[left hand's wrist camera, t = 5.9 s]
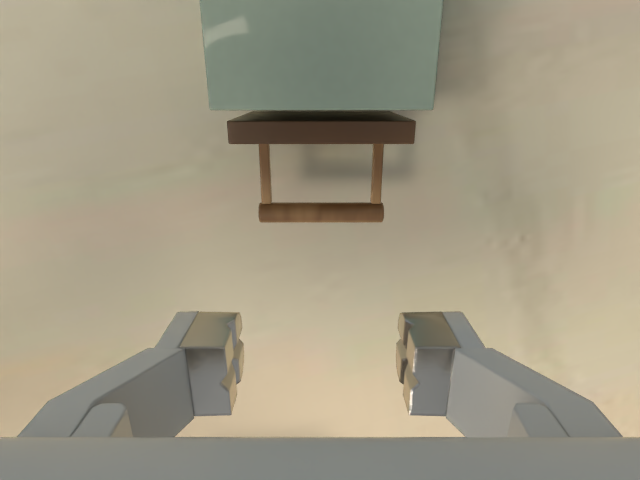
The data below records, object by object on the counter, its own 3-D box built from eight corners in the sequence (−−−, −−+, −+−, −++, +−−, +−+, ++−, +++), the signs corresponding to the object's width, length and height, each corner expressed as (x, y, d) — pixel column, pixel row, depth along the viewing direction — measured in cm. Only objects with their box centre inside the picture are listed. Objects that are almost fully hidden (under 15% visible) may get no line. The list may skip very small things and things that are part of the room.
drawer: (384, 201, 32) (406, 240, 24) (257, 201, 32) (236, 240, 24) (408, -204, 23) (453, -353, 15) (234, -204, 23) (189, -353, 15)
